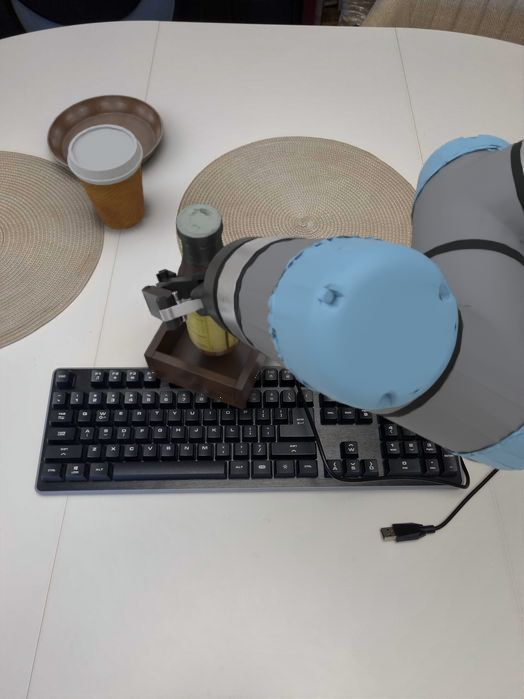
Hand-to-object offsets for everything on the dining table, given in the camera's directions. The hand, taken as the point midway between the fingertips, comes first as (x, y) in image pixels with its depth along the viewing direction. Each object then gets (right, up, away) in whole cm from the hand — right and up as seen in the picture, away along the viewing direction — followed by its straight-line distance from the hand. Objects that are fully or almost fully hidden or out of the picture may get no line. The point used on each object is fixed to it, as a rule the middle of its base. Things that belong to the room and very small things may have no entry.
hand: (196, 270), depth 58 cm
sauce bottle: (+2, -7, +6) cm, 9 cm away
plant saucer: (-17, +24, +28) cm, 40 cm away
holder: (+1, -9, +9) cm, 13 cm away
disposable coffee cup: (-13, +11, +21) cm, 27 cm away
